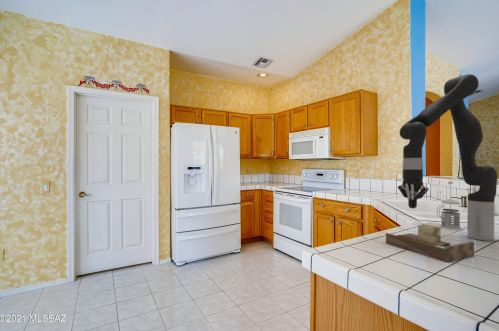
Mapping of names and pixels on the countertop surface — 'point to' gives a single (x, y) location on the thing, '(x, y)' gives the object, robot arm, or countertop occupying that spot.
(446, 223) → the french press
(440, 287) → the countertop surface
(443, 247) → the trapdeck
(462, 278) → the countertop surface
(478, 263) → the countertop surface
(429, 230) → the block
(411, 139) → the robot arm
